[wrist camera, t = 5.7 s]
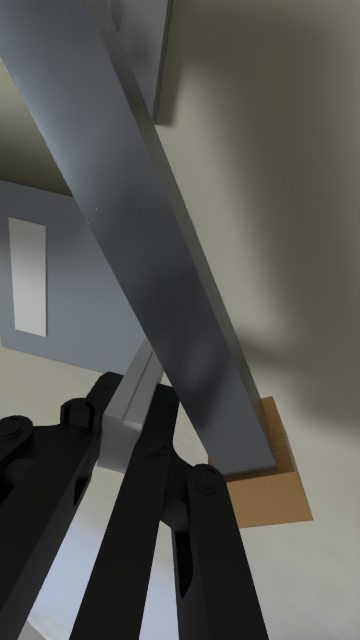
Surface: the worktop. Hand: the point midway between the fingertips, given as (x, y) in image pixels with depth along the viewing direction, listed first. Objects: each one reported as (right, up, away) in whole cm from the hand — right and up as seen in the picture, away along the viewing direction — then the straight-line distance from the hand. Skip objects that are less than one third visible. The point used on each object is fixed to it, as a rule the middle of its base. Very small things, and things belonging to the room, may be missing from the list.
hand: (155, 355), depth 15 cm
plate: (-5, +4, +3) cm, 7 cm away
